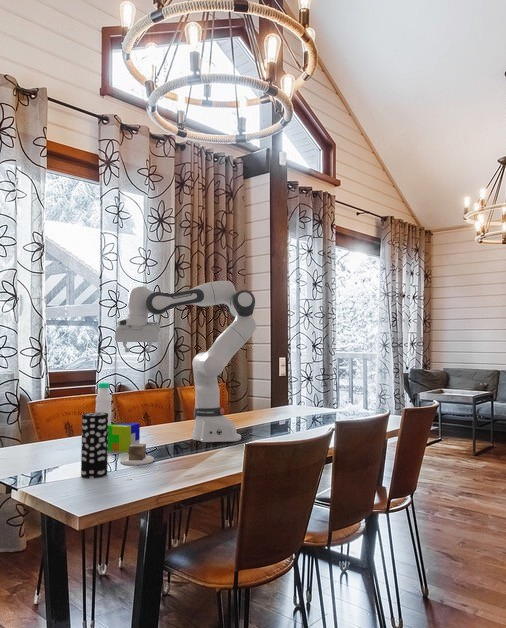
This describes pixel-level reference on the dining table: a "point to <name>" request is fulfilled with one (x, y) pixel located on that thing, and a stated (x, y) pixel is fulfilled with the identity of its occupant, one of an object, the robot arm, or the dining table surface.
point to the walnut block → (137, 451)
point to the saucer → (137, 461)
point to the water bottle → (104, 400)
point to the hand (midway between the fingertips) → (137, 352)
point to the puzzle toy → (123, 436)
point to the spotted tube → (94, 445)
